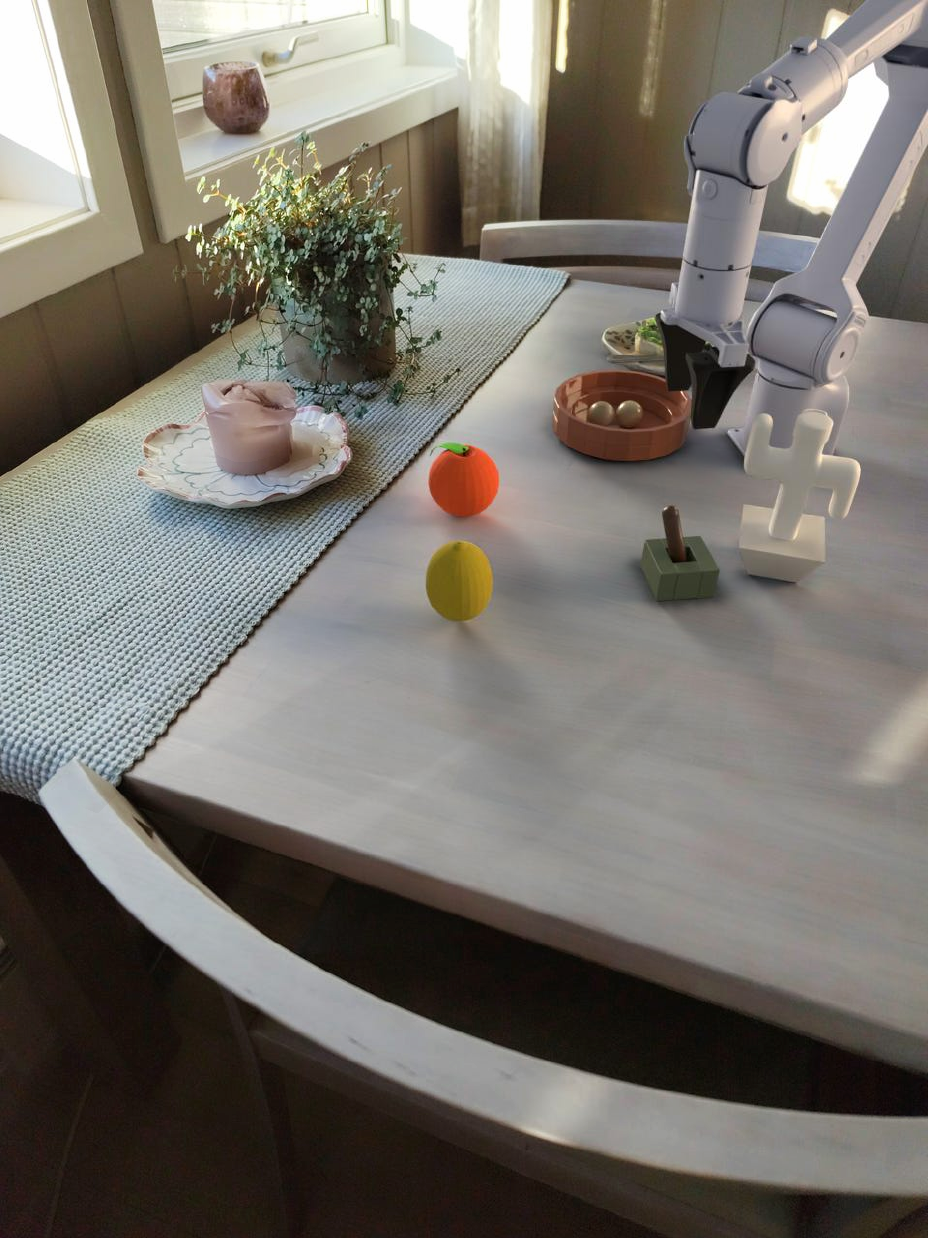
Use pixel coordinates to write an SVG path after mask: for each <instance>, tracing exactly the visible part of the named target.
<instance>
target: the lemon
mask: <svg viewBox="0 0 928 1238" xmlns="http://www.w3.org/2000/svg"><path fill="white" fill-rule="evenodd" d="M493 587H494V577H493V571H492V567H491V563H490V561H489V559H488V557H487V555H486V554H485V553H484V551H483V550H482V549H481V548H480V547H479V546H478V545H476V544H474V543H473V542H469V541H465V540H452V541H449V542H447V543H444V544H443V545H441V546H440V547H439V548H438V549H436V551H434V553H433V554H432V556H431V558H430V560H429V562H428V565H427V568H426V573H425V591H426V596H427V598H428V601H429V603H430V605H431V607H432V608H433V610H435V612H436V613H437V614H438V615H439V616H441V617H442V618H444V619H446V620H449V621H451V622H452V621H453V622H467V621H470V620H473V619H474V618H476V617H478V616H479V615H480V614H481V613H482V612H483V611H484V610H485V609H486V608H487V606H488V604H489V602H490V601H491V598H492V594H493Z"/></svg>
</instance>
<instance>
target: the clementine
mask: <svg viewBox="0 0 928 1238" xmlns="http://www.w3.org/2000/svg"><path fill="white" fill-rule="evenodd" d="M437 448H444V450H443V451H442V452H440V453H439V455H437V456H436V458H435V459H434V461H433V462H432V464H431V466H430V469H429V474H428V481H427V483H428V488H429V492H430V496H431V497H432V499H433V501H434V502H435V504H436V505H437V506H438V507H439V508H440V509H441V510H442V511H444V512H445V513H447V514H450V515H452V516H456V517H460V518H465V517H472V516H475V515H478V514H481V513H482V512H484V511H485V510H486V509H488V508H489V507H490V506H491V505H492V503H493V502H494V500H495V498H496V496H497V494H498V491H499V487H500V475H499V470H498V468H497V465H496V463H495V461H494V459H493V458H492V457H491V456H490V455H489V454H488V453H487V452H486V451H485V450H483V449H481V448H479V447H477V446H474V445H470V444H461V443H458V442H444V443H441V444H438V445H436V446H435V447H433V448H432V449H431V451H430V454H429V457H431V456H432V454H433V452H434V451H435V449H437Z"/></svg>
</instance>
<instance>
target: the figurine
mask: <svg viewBox="0 0 928 1238" xmlns="http://www.w3.org/2000/svg"><path fill="white" fill-rule="evenodd" d="M772 426H773V420H772V418H771V416H770V415H768V414H765V413H762V414H759V415H757V416H756V417H755V419H754V421H753V424H752V428H751V432H750V436H749V440H748V445H747V449H746V453H745V457H744V460H743V468H744V471H745V473H746V474H747V475H748V476H750V477H753V478H758V479H762V480H770V481H775V482H778V483H780V486H779V490H778V493H777V497H776V499H775V500H776V501H775V504H774V507H773V508H770V507H765V506H758V505H751V504H745V503H743V506H742V515H741V523H740V531H739V540H738V550H739V553H740V557H741V559H742V562H743V565H744V567H745V571H746V573H747V575H750V576H756V577H761V578H762V577H763V578H767V579H772V580H773V579H774V580H779V581H784V582H785V581H786V582H789V583H790V582H791V583H796V584H797V583H798V582H800V581H801V580H803V579H805V578H806V577H807V576H808V575H809V574H812V572H814V571H815V570H816V569H818V568H820V567H821V566H822V565H823V564H825V562H826V527H825V526H826V520H825V519H826V518H825V516H821V515H820V516H819V515H814V514H809V513H804V512H805V510H806V506H807V502H808V500H809V496H810V493H811V491H812V489H813V487H814V488H815V487H816V488H821V489H828V490H831V491H832V495H831V498H830V502H829V505H828V514H829V516H830V517H831V518H833V519H834V520H838V521H840V520H844V519H845V518H846V517H847V516H848V514H849V512H850V508H851V505H852V503H853V500H854V498H855V497H854V496H855V494H856V491H857V488H858V485H859V483H860V477H861V465H860V463H859V462H858V461H857V460H856V459H853V458H850V457H844V456H838V455H837V456H836V455H834V456H831V455H824V454H822V451H823V447H824V444H825V443H826V442H827V441H828V439H829V436H830V433H831V430H832V427H833V420H832V419H831V418H830V417H828V416H827V413H826V412H825V411H822V410H818V409H805V410H804V411H803V412H802V414H800V415H798V417H797V420H796V423H795V427H794V430H793V437H794V439H793V443H792V446H791V447H790V448H787V449H782V448H775V447H771V446H770V445H769V439H770V435H771V431H772Z"/></svg>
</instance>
